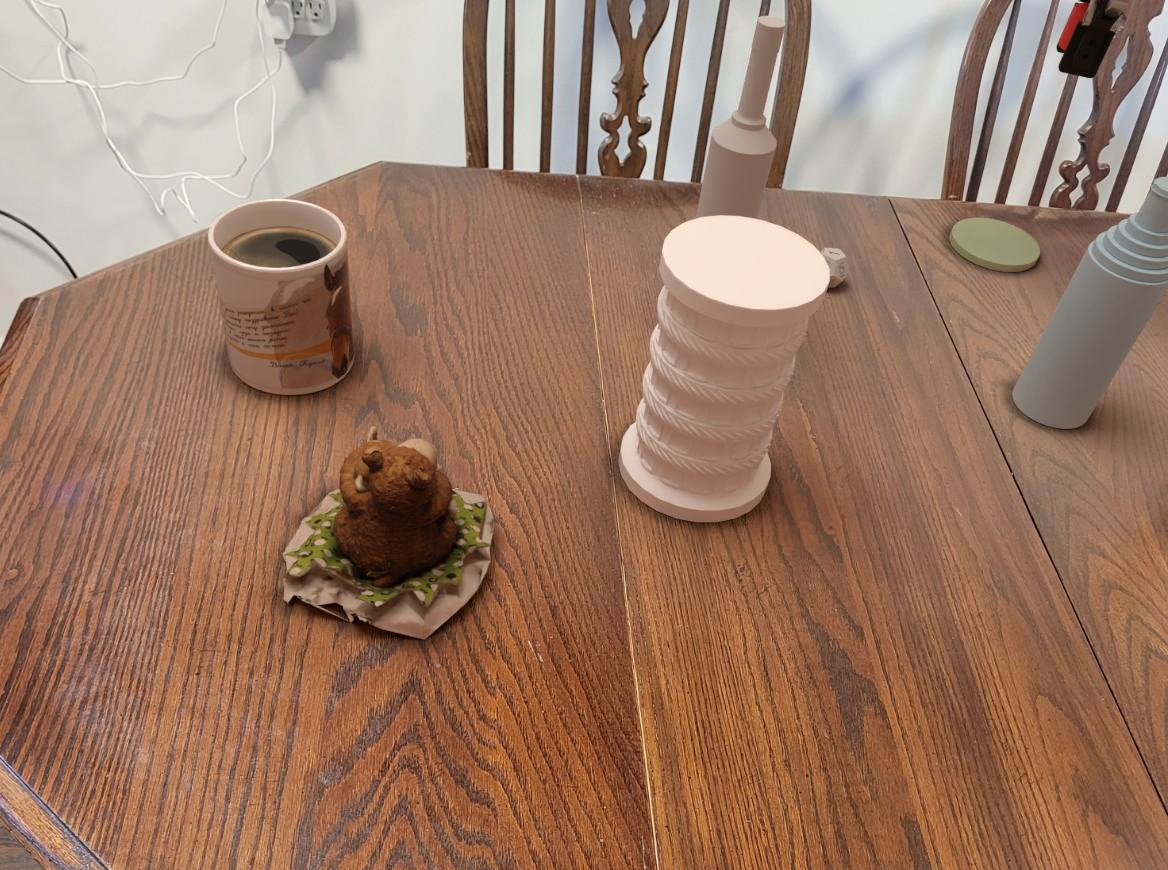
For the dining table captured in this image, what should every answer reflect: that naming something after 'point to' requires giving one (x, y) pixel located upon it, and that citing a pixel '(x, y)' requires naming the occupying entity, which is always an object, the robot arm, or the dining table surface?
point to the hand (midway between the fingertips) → (1074, 61)
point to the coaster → (994, 244)
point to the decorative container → (720, 364)
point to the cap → (1073, 23)
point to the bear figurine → (392, 541)
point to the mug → (284, 294)
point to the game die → (836, 265)
